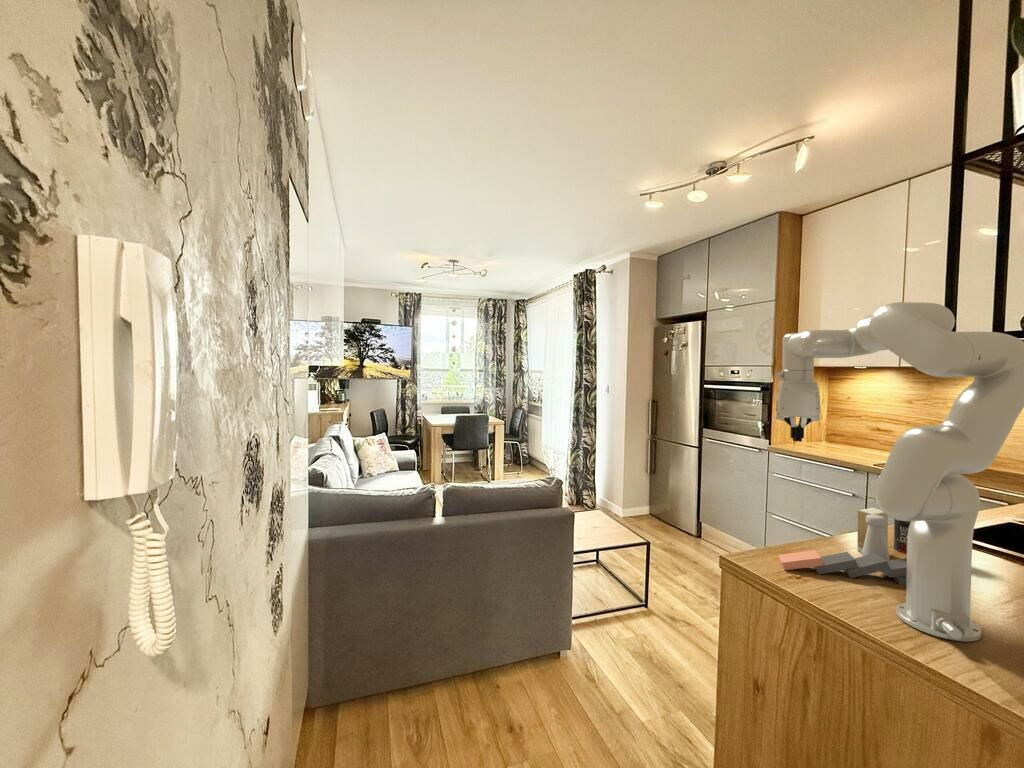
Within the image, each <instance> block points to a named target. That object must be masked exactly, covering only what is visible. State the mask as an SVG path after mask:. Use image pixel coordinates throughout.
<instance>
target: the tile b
mask: <svg viewBox="0 0 1024 768" xmlns="http://www.w3.org/2000/svg"><path fill="white" fill-rule="evenodd" d="M853 558H854V557H853ZM854 559H855V560H856V562H857V565H858V568H853V569H847V570H843V571H844V572H845V573H846V574H847V575H846V574H845V573H844V572H843V571H842V572H843V573H844V574H845V575H846V576H848V577H849V579H853V578H856V577H858V578H859V577H861V576H865V575H870V574H875V573H878V572H879V573H880V571H884V570H888V569H890V567H889V565H888V562H887V561H886V560H885V559H883V558H882V557H880V556H879V555H878V554H876V553H875V554H871V555H867V556H863V555H862V556H858V557H855V558H854Z"/></svg>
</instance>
